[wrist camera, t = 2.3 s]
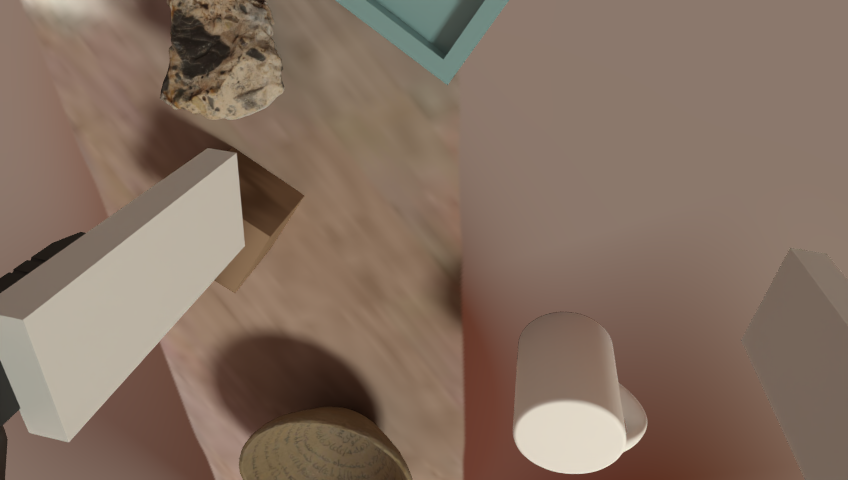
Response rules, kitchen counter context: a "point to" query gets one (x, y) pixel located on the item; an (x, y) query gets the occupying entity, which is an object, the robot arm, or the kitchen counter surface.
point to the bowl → (321, 449)
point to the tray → (430, 28)
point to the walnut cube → (258, 218)
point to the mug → (572, 396)
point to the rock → (222, 58)
